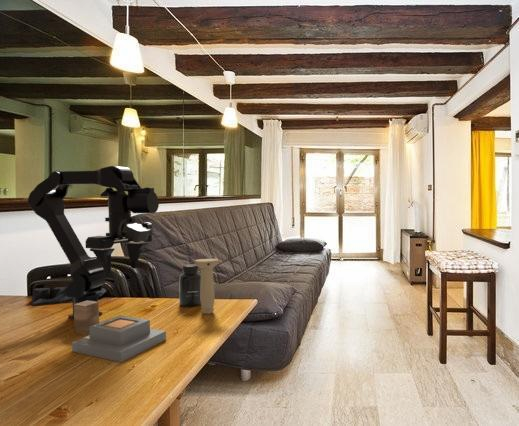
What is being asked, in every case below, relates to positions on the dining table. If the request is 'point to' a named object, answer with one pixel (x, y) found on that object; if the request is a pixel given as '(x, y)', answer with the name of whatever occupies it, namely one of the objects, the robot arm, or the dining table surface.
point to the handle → (207, 284)
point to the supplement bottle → (189, 286)
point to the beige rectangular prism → (85, 316)
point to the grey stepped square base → (119, 339)
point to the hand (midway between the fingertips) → (121, 271)
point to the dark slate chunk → (54, 295)
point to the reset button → (120, 324)
